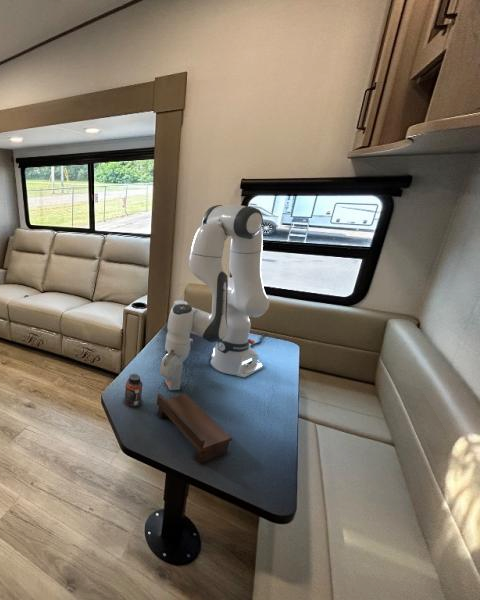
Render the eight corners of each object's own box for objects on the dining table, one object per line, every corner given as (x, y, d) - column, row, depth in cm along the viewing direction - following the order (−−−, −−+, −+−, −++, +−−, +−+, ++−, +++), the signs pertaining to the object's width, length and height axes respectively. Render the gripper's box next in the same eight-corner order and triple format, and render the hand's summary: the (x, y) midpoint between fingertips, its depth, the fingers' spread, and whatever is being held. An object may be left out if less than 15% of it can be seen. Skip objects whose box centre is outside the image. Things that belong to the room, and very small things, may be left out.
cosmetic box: (164, 381, 130) (167, 356, 126) (174, 380, 131) (177, 356, 126) (169, 390, 125) (172, 364, 120) (180, 390, 125) (183, 364, 121)
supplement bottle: (140, 408, 115) (142, 382, 111) (124, 406, 116) (125, 380, 112) (140, 398, 121) (143, 373, 116) (125, 395, 122) (126, 371, 118)
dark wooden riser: (183, 406, 116) (186, 386, 113) (229, 452, 97) (234, 429, 94) (155, 415, 112) (157, 394, 109) (197, 464, 93) (202, 441, 90)
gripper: (173, 359, 112) (169, 391, 117) (194, 338, 126) (190, 367, 132) (157, 353, 115) (153, 385, 120) (179, 333, 130) (175, 362, 135)
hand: (173, 375), depth 126 cm, fingers closed on cosmetic box, 7 cm apart
